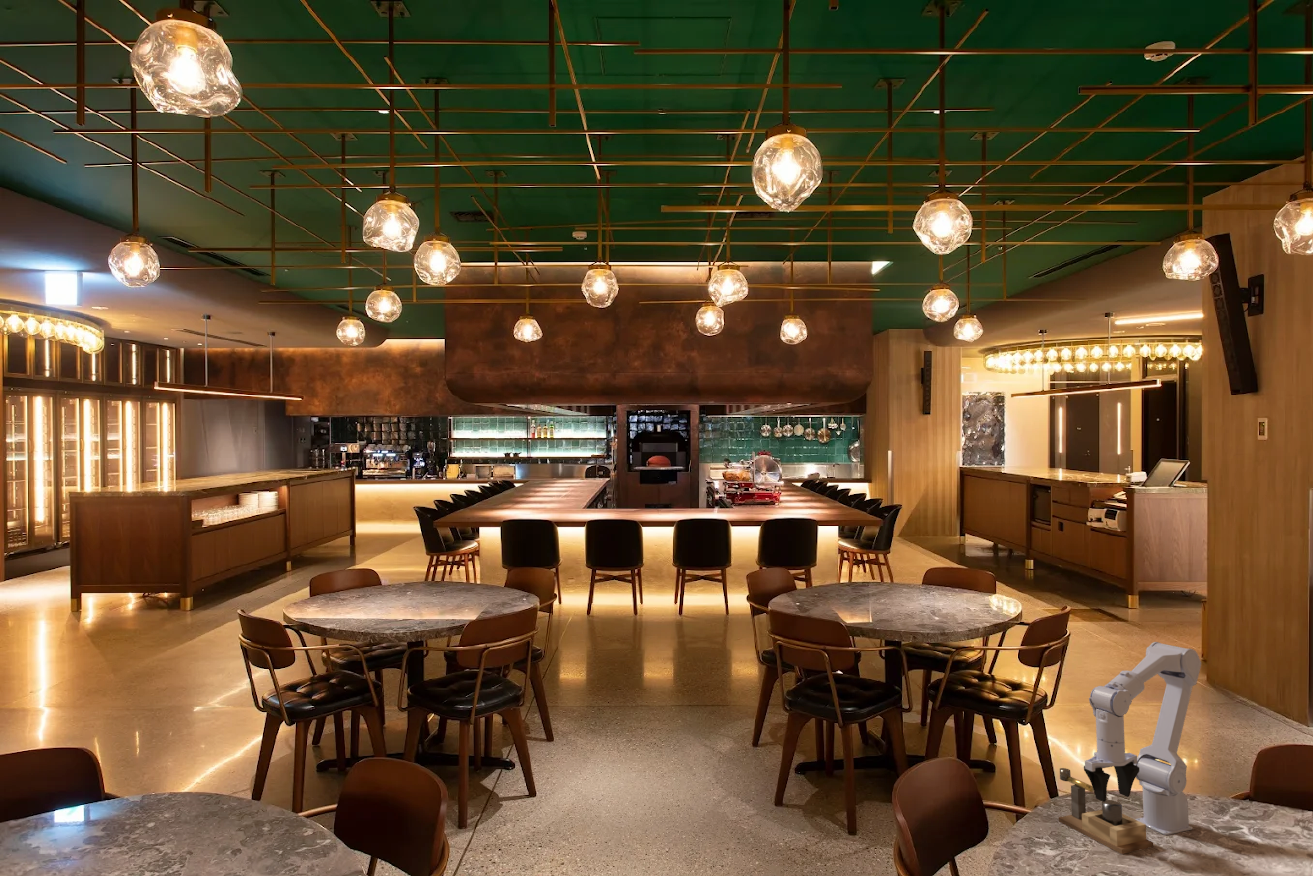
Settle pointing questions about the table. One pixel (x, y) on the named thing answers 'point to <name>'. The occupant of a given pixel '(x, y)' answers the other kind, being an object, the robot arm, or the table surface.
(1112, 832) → the dock
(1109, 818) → the black rounded block
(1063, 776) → the lock bolt
